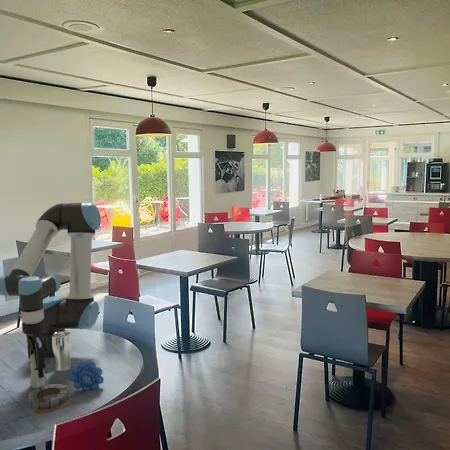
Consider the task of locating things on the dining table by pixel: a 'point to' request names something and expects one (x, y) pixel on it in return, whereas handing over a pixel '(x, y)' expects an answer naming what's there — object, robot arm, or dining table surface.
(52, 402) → the grey segmented ring
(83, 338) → the dining table surface
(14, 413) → the dining table surface
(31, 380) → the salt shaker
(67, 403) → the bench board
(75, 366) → the grapes
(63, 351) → the beer glass
